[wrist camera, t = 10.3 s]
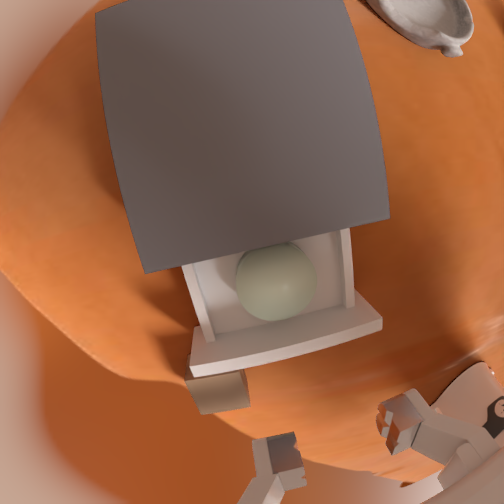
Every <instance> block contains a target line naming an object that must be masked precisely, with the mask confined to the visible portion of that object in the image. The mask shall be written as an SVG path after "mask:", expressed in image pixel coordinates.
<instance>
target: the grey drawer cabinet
mask: <svg viewBox="0 0 504 504" xmlns="http://www.w3.org/2000/svg"><path fill="white" fill-rule="evenodd" d="M95 24H96V43H97V56H98V67H99V76H100V84H101V92H102V99H103V106H104V113H105V119H106V125H107V130H108V136H109V141H110V146H111V151H112V156H113V160H114V165H115V169H116V174H117V178H118V182H119V186H120V190H121V194H122V198H123V202H124V206H125V210H126V213H127V217H128V221H129V224H130V227H131V231H132V234H133V238H134V241H135V244H136V247H137V251H138V254H139V257H140V260H141V263H142V266H143V269H144V272H145V274H148V273H152V272H157V271H161V270H165V269H170V268H174V267H179V266H183V265H187V264H192V263H196V262H201V261H205V260H209V259H214V258H218V257H222V256H227V255H231V254H236V253H240V252H244V251H249V250H253V249H258V248H262V247H267V246H271V245H275V244H280V243H284V242H289V241H293V240H297V239H302V238H306V237H311V236H315V235H320V234H324V233H329V232H333V231H337V230H342V229H346V228H351V227H355V226H360V225H364V224H369V223H373V222H378V221H382V220H386V219H390V208H389V196H388V187H387V178H386V170H385V162H384V155H383V149H382V142H381V136H380V131H379V125H378V120H377V115H376V110H375V105H374V101H373V96H372V92H371V88H370V84H369V80H368V76H367V72H366V68H365V65H364V61H363V58H362V54H361V51H360V48H359V45H358V41H357V38H356V35H355V32H354V29H353V26H352V23H351V21H350V18H349V15H348V12H347V10H346V7H345V5H344V2H343V0H128V1H125V2H122V3H120V4H117V5H115V6H112V7H109V8H107V9H105V10H102V11H100V12H97V13H95Z"/></svg>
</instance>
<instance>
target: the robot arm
mask: <svg viewBox="0 0 504 504" xmlns="http://www.w3.org/2000/svg"><path fill="white" fill-rule="evenodd" d="M378 410H379V413H378V414H377V416H376V424H377V428H378V431H379V433H380V435H381V436H383V437H385V438H387V440H386V443H385V444H386V446H387V448H388V449H389V451H390V453H391V455H395V454H397V453H399V452H402V451H404V450H406V449H408V448H410V447H411V448H412V449H414V450H415V451H417V452H419V453H421V454H423V455H425V456H427V457H429V458H431V459H433V460H435V461H437V462H439V463H441V464H443V465H445V467H444V468H443V470H442V471H441V472H440V474H439V475H438V480H439V482H440V483H441V485H442V487H443V489H444V490H443V491H442V492H440V493H438V494H437V495H435V496H433V497H431V498H430V499H428V500H426V501H424V502H422V503H421V504H504V388H503V386H502V385H501V384H500V382H499V381H498V380H497V379H496V377H495V376H494V371H493V370H492V369H489V368H488V366H487V364H486V363H485V362H480V363H477V364H475V365H473V366H471V367H470V368H468V369H467V370H466V371H464V372H463V373H462V374H461V375H460V376H459V377H457V378H456V379H455V380H454V381H453V382H452V383H451V384H450V385H449V387H448V388H447V389H446V390H445V391H444V392H443V394H442V395H441V396H440V397H439V398H438V400H437V401H436V402H435V403H434V404H432V405H431V406H429V405H428V404H427V402H426V401H425V400H424V399H423V397H422V396H421V395H420V393H419V392H418V391H417V390H416V389H415V388H413V389H410V390H408V391H406V392H404V393H401V394H399V395H397V396H395V397H392V398H390V399H388V400H386V401H383V402H381V403H379V405H378ZM252 447H253V454H254V461H255V468H256V475H257V477H255V478H252V480H251V482H250V483H249V485H248V487H247V489H246V490H245V492H244V493H243V495H242V497H241V498H240V500H239V502H238V503H237V504H280V502H281V499H282V497H283V495H284V493H285V492H284V491H287V490H291V489H295V488H298V487H302V486H306V485H307V482H306V477H305V471H304V466H303V462H302V459H301V455H300V451H299V450H298V445H297V441H296V437H295V434H294V431H293V432H289V433H284V434H280V435H275V436H271V437H265V438H260V439H255V440H252Z"/></svg>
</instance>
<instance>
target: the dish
mask: <svg viewBox="0 0 504 504" xmlns="http://www.w3.org/2000/svg"><path fill="white" fill-rule="evenodd" d="M366 1H367V3H368V4H369V5H370V6H371V7H372V9H373V10H374V11H375V12H376V13H377V14H378V15H379V16H380V17H381V18H382V19H383V20H384V21H386V22H387V23H388V24H389V25H390V26H391V27H392V28H393V29H395V30H396V31H397V32H399V33H400V34H401V35H403V36H404V37H406V38H407V39H409V40H410V41H412V42H413V43H415V44H417V45H419V46H421V47H424V48H428V49H434V50H441V53H442V54H443V55H444V56H446V57H457V56H461V55H463V52H462V50H461V49H460V46H461V45H462V44H464V43H465V42H467V41H468V40H469V39H470V38H471V36H472V33H473V30H474V24H473V22H472V14H471V11H470V9H469V7H468V5H467V3H466V1H465V0H366Z"/></svg>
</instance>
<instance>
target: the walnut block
mask: <svg viewBox="0 0 504 504" xmlns="http://www.w3.org/2000/svg"><path fill="white" fill-rule="evenodd" d="M190 357H191V354H188V357H187V365H186V373H185V383H186V385H187V387H188V389H189V391H190V393H191V395H192V397H193V399H194V401H195V403H196V405H197V407H198V409H199V411H200V413H201V414H202V415H203V414H210V413H217V412H224V411H230V410H236V409H241V408H247V407H251V405H250V398H249V391H248V383H247V378H246V375H245V372H244V369H239V370H234V371H229V372H223V373H218V374H212V375H206V376H200V377H194V376H193V374H192V371H191V369H190V367H189V365H190Z"/></svg>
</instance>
